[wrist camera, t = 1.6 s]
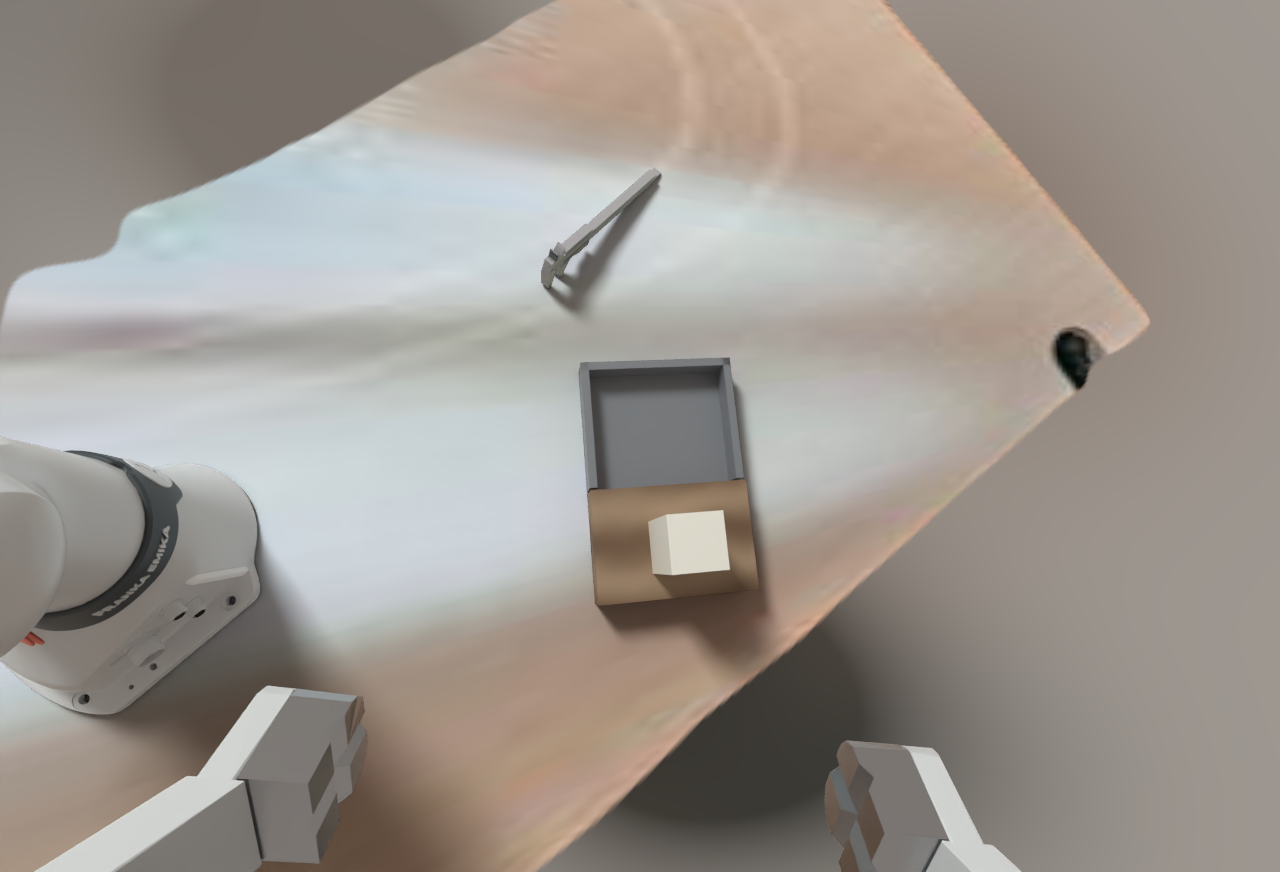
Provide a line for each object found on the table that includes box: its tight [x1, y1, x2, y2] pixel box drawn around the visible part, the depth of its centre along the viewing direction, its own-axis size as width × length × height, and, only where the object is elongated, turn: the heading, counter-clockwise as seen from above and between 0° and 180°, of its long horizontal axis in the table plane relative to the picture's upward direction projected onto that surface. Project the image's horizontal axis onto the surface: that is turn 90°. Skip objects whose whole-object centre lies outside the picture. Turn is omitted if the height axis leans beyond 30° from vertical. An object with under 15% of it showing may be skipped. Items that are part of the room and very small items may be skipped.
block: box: [648, 510, 730, 575], centre depth 56 cm, size 5×5×9 cm
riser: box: [587, 479, 759, 606], centre depth 62 cm, size 11×16×4 cm
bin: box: [579, 358, 744, 492], centre depth 65 cm, size 13×16×4 cm
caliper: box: [541, 168, 661, 288], centre depth 68 cm, size 20×1×6 cm, turn 141°
